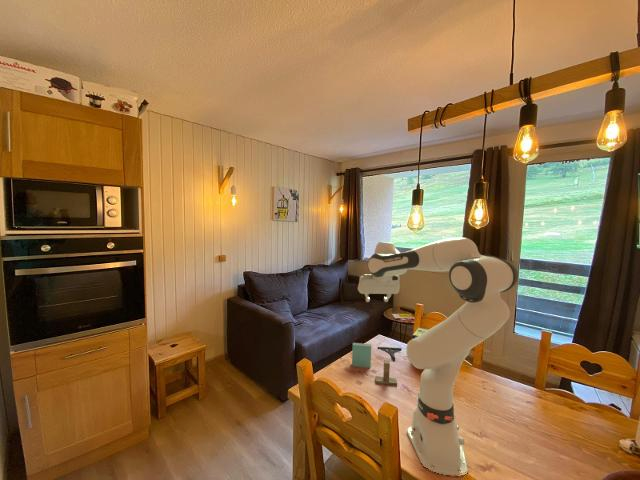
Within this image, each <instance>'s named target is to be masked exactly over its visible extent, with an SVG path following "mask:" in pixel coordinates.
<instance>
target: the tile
mask: <svg viewBox="0 0 640 480" xmlns="http://www.w3.org/2000/svg"><path fill="white" fill-rule="evenodd" d="M351 350H352V355H351V367H358V368H370V369H371V367H372V361H371V360H372V344H371V343H361V342H360V343H359V342H352V349H351Z"/></svg>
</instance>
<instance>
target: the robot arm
mask: <svg viewBox="0 0 640 480" xmlns="http://www.w3.org/2000/svg"><path fill="white" fill-rule="evenodd" d="M367 269H368V271H369V272H370V274H369V273H368V274H365V273H363V274H362V275H360V276H359V280H358V286H357V291H358V292H359V294H361V295H362V294H363V295H364V296H365V302H366V303H370V301H371V298H370V297H369V295H371V294H372V295H375V294H377V295H378V294H379V295H382V294H383V295H386V296H384V297H383V301H384V303H388V302H389V299H390V298H391V297H392V295H397V294H399V292H400V289H401V283H400V280H401V277H400V276H401V275H405V274H406V273H407V272H408V271H409V270H415V271H424V272H425V271H426V272H434V273H435V272H439V273H440V272H443V273H444V272H448V280H449V282H450V285H451V287H452V289H454V291H455V292H456V293H457V294H458V295H459V297H460V299H462V300H463V301H465V303H463V305H461V306H460V307H459V308H458V309H456V310H455V311H454V312H452V314H451V315H450V316H447V318H446V319H444V320H443V321H441V322H439V323H437V324H436V325H434V326H433V327H431V328H429V329H428V330H427V331H426V332H424V333H423V334H421V335H419V336H418V337H416V338H414V339H412V338H411V339H410V340H409V341H408V342H407V345H406V349H405V350H406V351H405V352H406V356H407V359H408V361H409V363H410V364H411V365H412V366H413V367H415V368H416V369H418V370H423V371H422V372H421V375H420V379H419V393H418V396H417V407H416V408H415V409H414V410H413V411H412V417H411V418H412V419H411V426H410V427H408V428H407V429H406V434H407V435H408V439H409V441H410V443H411V444H412V447H413V448H414V449H413V450H414V451H415V453H416V455H417V457H418V459H419V461H420V463H422V464H423V465H422V464H421V465H422V467H423V466H424V467H426V468H428V469H430V470H431V471H430V470H429V471H430V472H432V471H433V472H432V473H434V472H436V473H435V474H437V473H439V474H438V475H441V474H443V475H442V476H446V475H460V474H462V473H464V472H465V473H466V472H468V473H469V469H468V464H467V460H466V455H465V450H464V446H465V445H464V444H465V441H464V437H462V436H460V435H459V433H458V431H460V426H459V425H458V424H457V423H456V416H455V407H454V403H453V402H454V389H455V382H456V379H457V377H458V373H459V372H460V369H461V366H462V364H463V363H464V360H465V359H466V358H467V357H468V355H469V354H470V353H471V349H473V348H475V347H476V346H479V344H480V343H482V342H484V341H485V340H487V339H488V338H490V337H491V336H493V335H494V334H495V333H497V332H498V331H499V330H500V329H501V328H502V327H503V326H504V325H505V324H506V323H507V321H508V320H509V318H510V316H511V311H510V307H509V305H508V304H507V303H506V301H505V300H504V299H502V297H501V293H504V292H507V291H509V290H511V289H513V288H514V287H515V286H516V284H517V283H518V281H519V273H518V272H519V271H518V270H517V267H516V266H515V265H514V264H513V263H511V262H510V261H508V260H505V259H503V258H501V257H497V256H494V255H492V254H489V253H487V254H483V255H482V254H480V252H479V249H478V246H477V245H476V242H474V241H473V240H471V239H470V238H467V237H452V238H445V239H441V240H436V241H434V242H429V243H427V244H424V245H421V246H419V247H416V248H413V249H409V250H407V251H403V252H400V251H399V250H398V249H397V248H396V245H395V244H394V243H393V242H390V241H378V243H377V244H376V246H375V249H374V253H373V254H372V255H371V256H370V257H369V259H368V261H367ZM432 467H433V468H432ZM426 468H425V469H426ZM428 469H427V470H428ZM459 471H460V472H459Z"/></svg>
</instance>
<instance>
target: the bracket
mask: <svg viewBox="0 0 640 480" xmlns="http://www.w3.org/2000/svg"><path fill="white" fill-rule="evenodd" d="M377 349H378V350H379V349H381V350H380V351H384V352H386V353H387V354H389V355H390V357H391V360H392V361H393V362H395V361H396V356H395V353H397V352H401V350H403V349H402V347H389V346H377ZM386 349H388V350H386Z"/></svg>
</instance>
